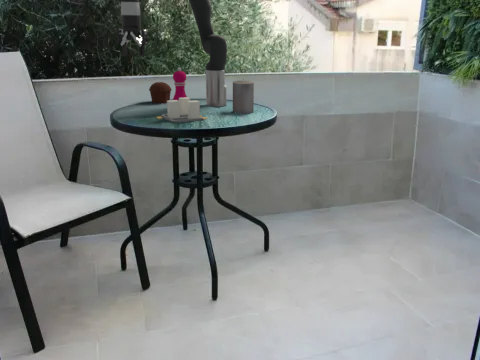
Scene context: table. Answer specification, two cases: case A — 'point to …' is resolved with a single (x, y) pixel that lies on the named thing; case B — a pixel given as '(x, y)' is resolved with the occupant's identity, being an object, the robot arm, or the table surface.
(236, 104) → the pillar candle
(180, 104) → the tab inner
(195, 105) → the block
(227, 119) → the table surface
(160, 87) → the muffin
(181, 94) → the pepper mill
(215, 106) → the robot arm
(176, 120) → the switch box
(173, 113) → the tab middle
